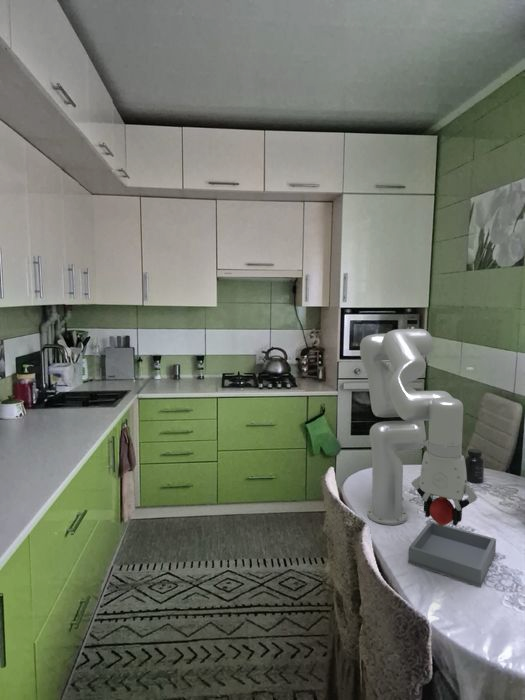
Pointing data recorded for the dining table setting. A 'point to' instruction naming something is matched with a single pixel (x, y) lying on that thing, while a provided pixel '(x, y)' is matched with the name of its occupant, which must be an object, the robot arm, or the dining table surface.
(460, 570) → the tray
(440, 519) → the onion
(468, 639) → the dining table surface
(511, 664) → the dining table surface
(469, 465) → the supplement bottle
